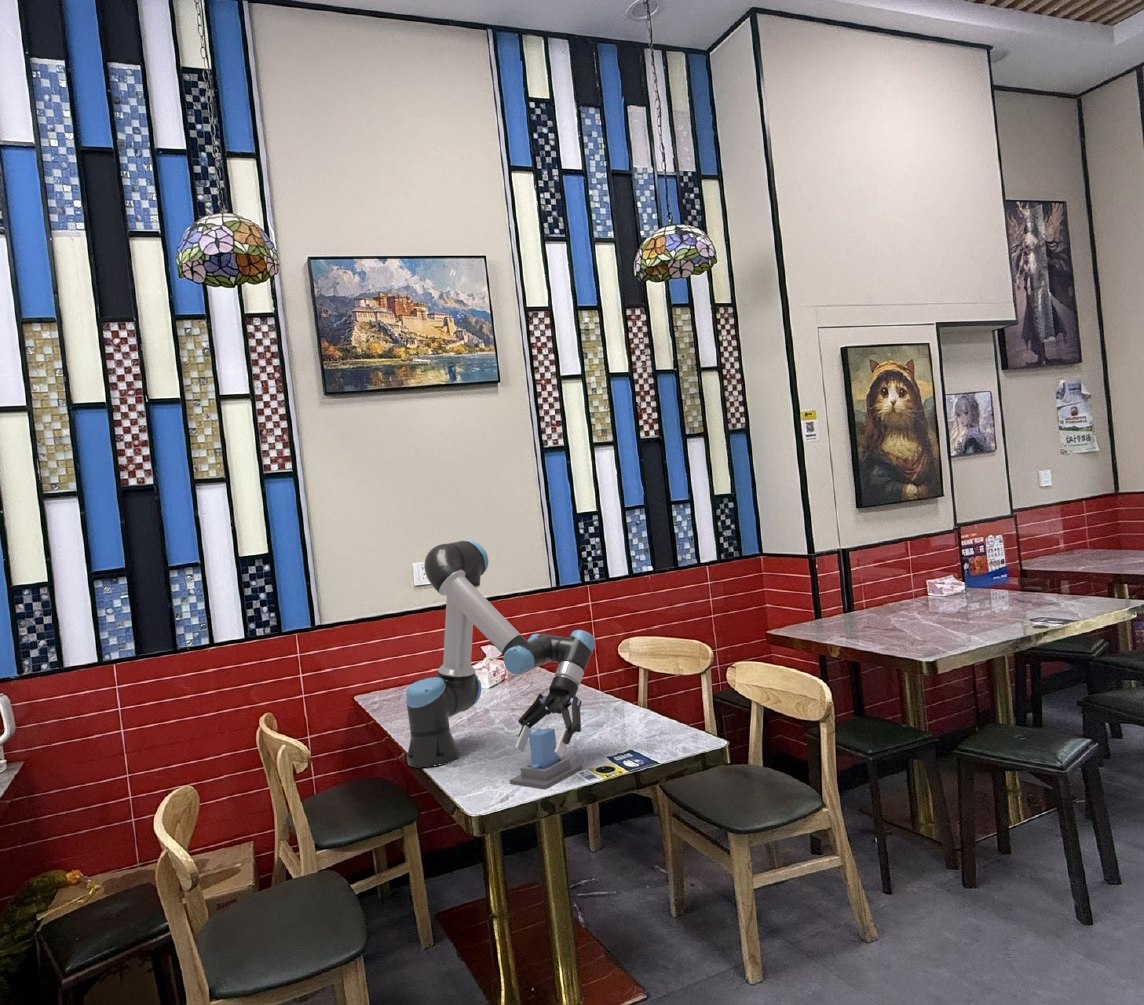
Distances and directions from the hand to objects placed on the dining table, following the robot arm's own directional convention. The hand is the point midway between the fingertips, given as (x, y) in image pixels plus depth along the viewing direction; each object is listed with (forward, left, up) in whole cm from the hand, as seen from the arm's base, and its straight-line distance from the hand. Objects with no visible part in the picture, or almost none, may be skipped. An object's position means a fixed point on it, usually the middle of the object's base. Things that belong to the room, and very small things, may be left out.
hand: (538, 752), depth 219 cm
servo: (+1, +2, -6) cm, 7 cm away
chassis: (+1, +2, -7) cm, 8 cm away
